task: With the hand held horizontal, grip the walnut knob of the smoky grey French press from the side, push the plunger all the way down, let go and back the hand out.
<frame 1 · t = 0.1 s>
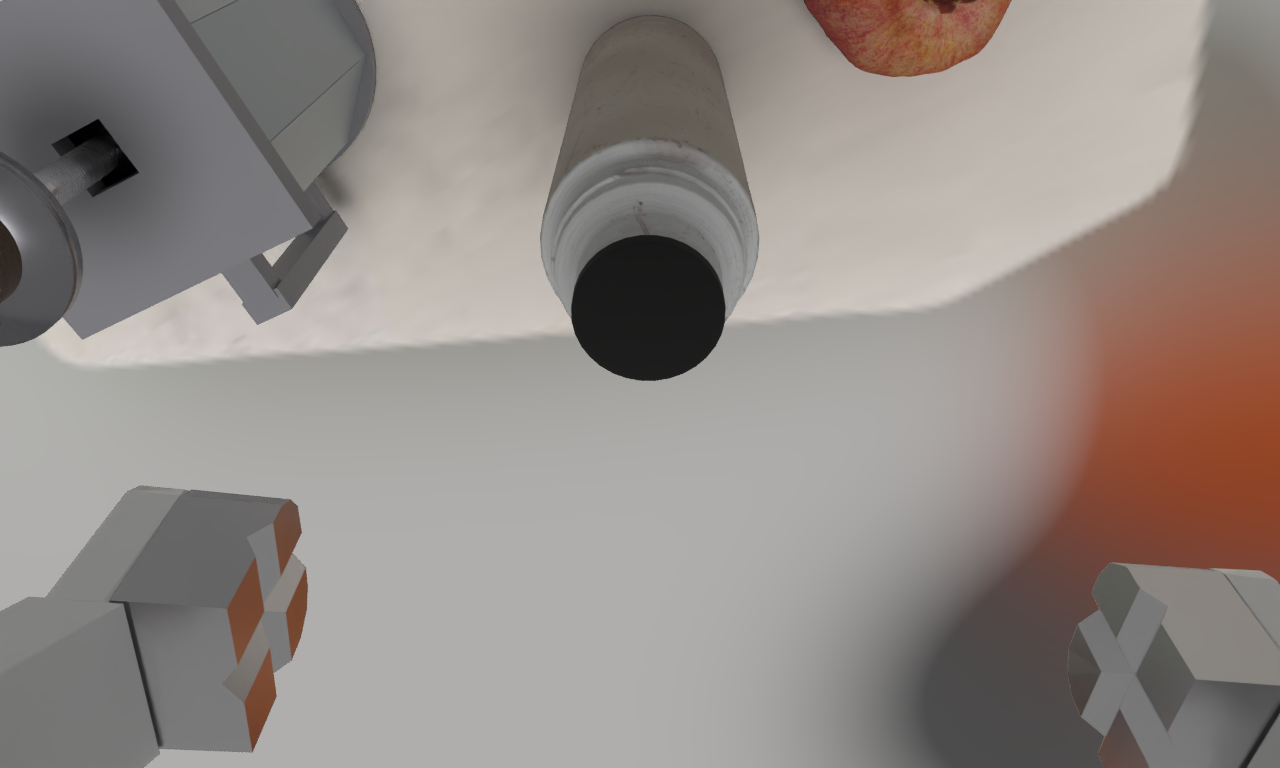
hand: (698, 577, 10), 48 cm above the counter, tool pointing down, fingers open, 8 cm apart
plunger: (0, 221, 33), point 24 cm above the counter, slide at 0.0 cm
thermos bottle: (650, 89, 55), on the counter
press carafe: (251, 56, 54), on the counter
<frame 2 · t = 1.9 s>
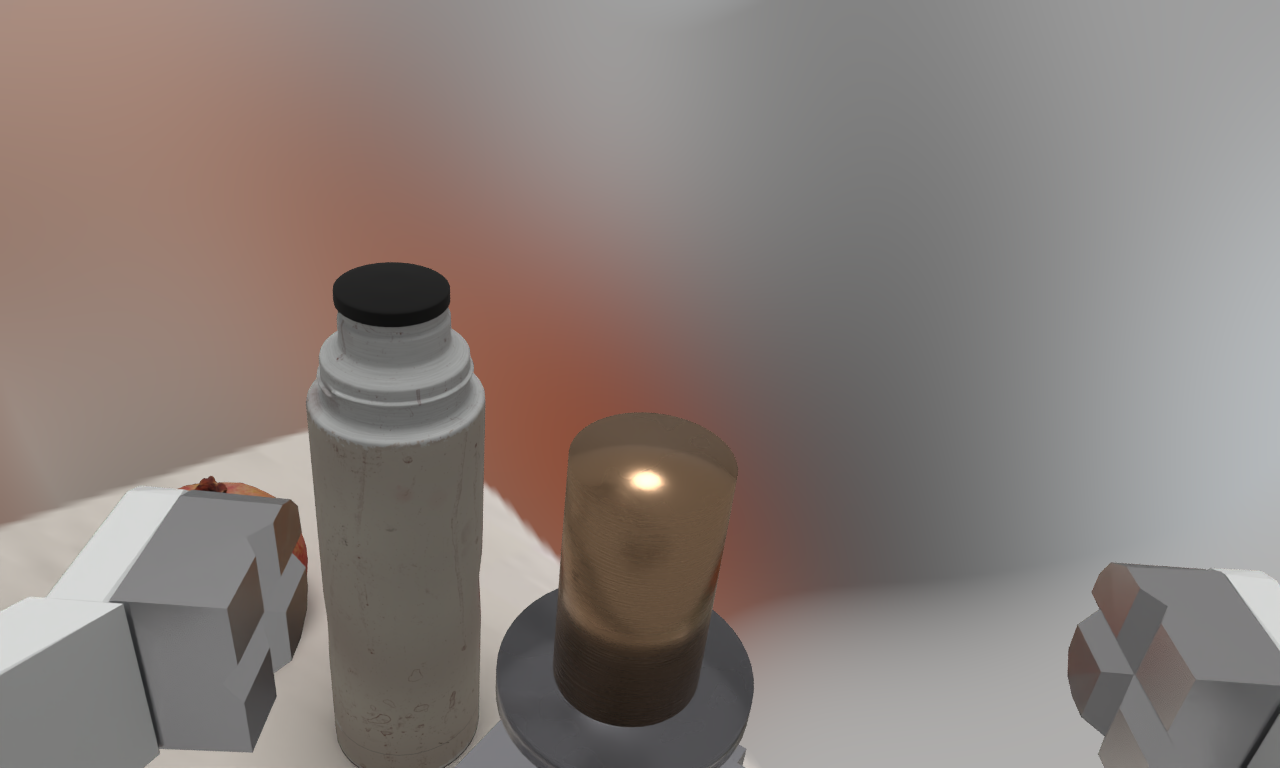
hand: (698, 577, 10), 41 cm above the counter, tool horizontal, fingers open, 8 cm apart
plunger: (618, 726, 28), point 24 cm above the counter, slide at 0.0 cm
fruit: (226, 620, 62), on the counter
thermos bottle: (408, 722, 57), on the counter
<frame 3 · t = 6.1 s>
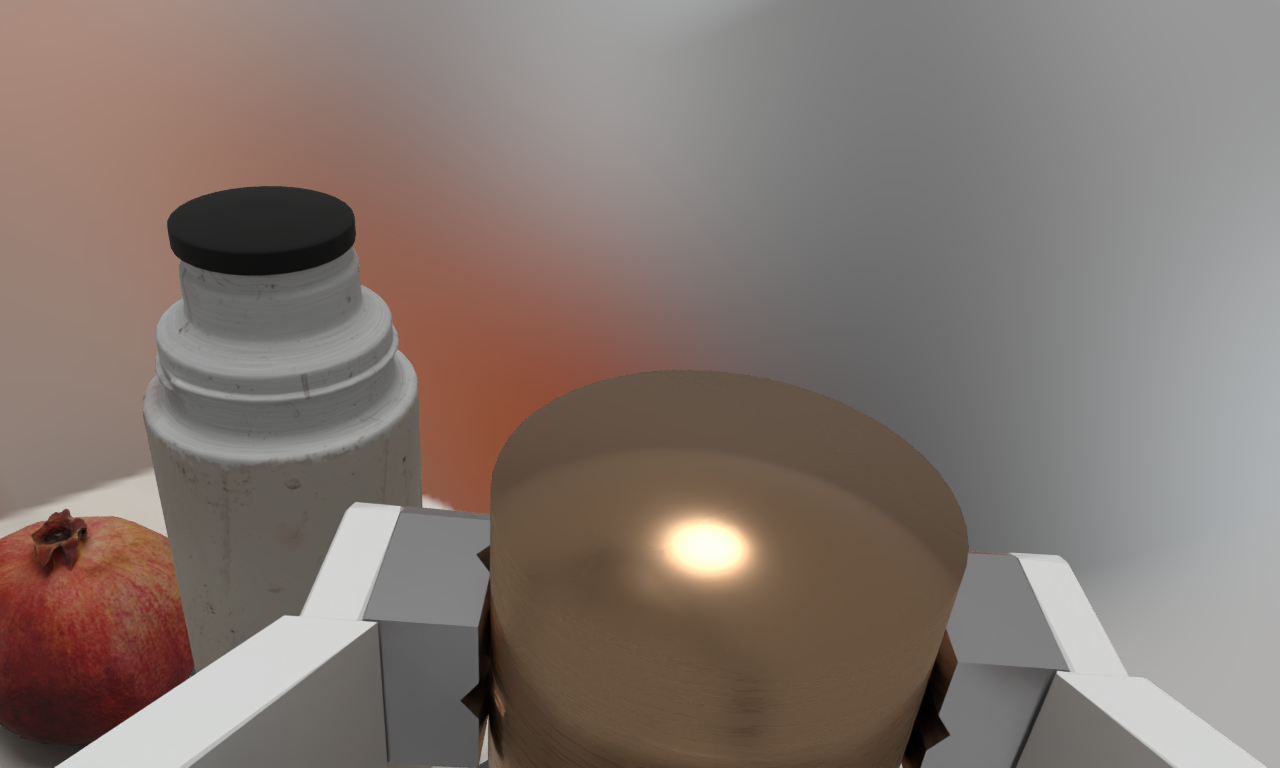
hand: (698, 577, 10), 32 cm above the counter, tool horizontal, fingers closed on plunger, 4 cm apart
fruit: (101, 698, 47), on the counter
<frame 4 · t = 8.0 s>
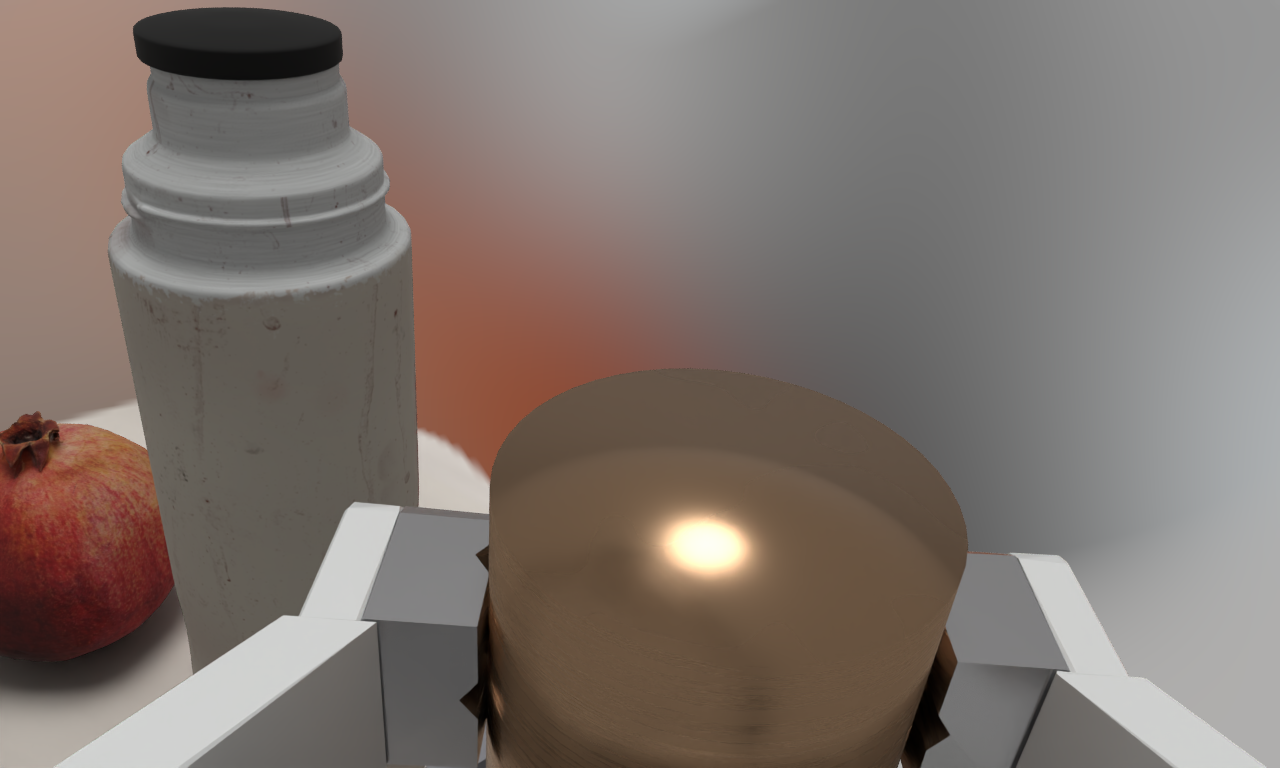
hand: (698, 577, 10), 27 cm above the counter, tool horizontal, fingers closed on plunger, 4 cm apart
fruit: (75, 620, 44), on the counter
thermos bottle: (324, 760, 39), on the counter
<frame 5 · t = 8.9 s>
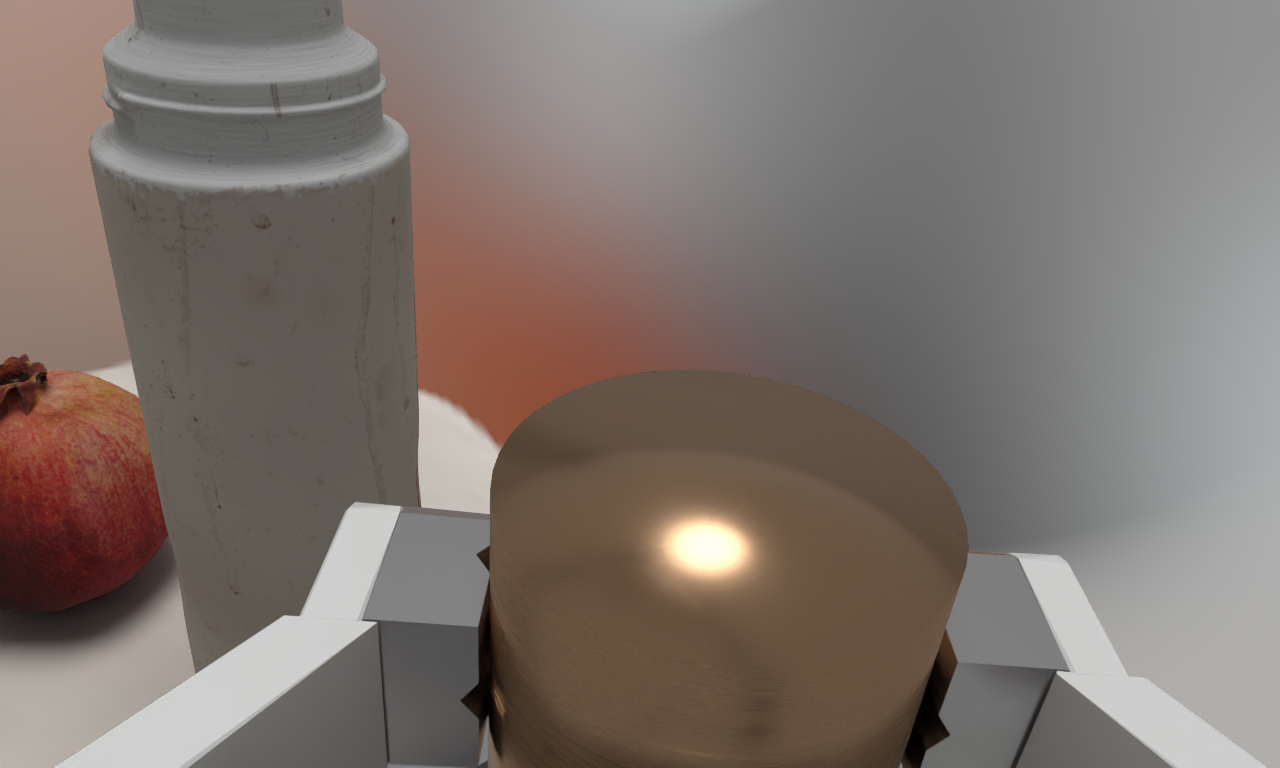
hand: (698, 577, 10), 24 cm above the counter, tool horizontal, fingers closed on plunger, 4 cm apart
fruit: (66, 575, 43), on the counter
thermos bottle: (322, 713, 38), on the counter
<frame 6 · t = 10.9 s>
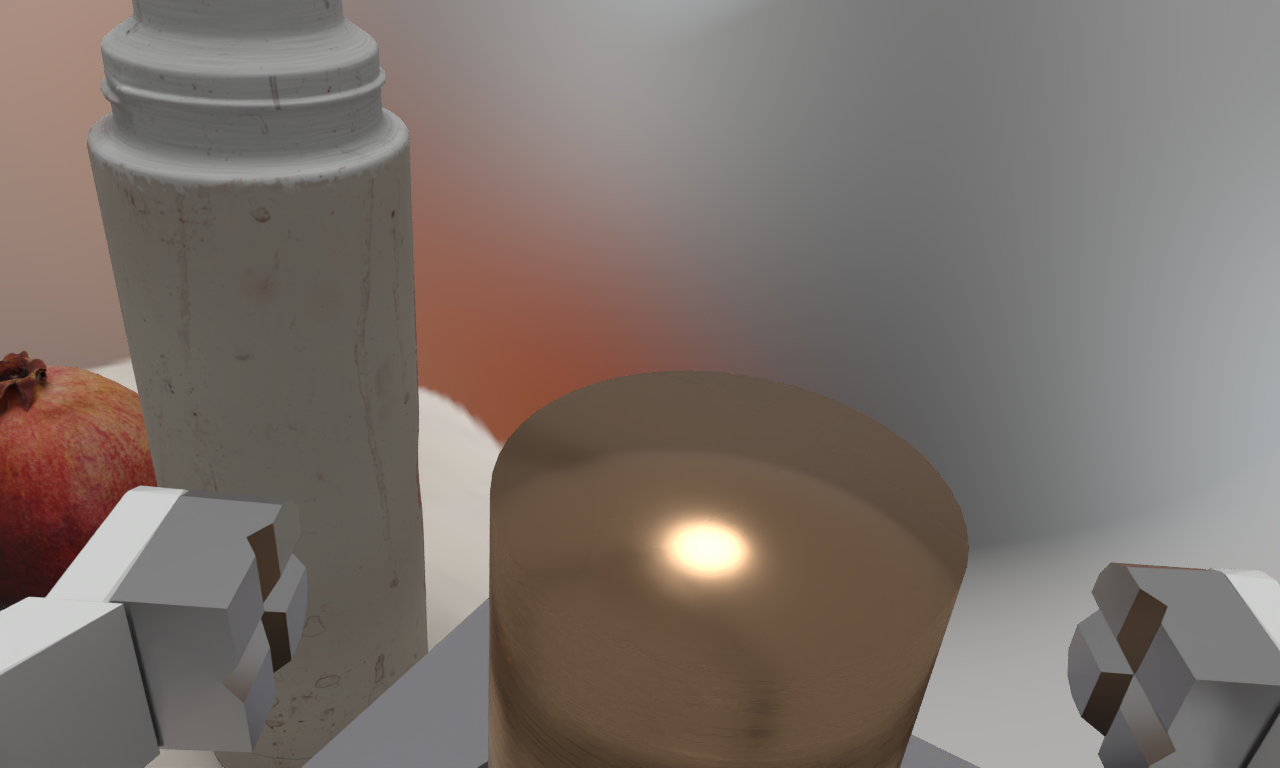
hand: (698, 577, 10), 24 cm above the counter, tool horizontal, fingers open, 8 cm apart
fruit: (66, 572, 43), on the counter
thermos bottle: (323, 710, 38), on the counter
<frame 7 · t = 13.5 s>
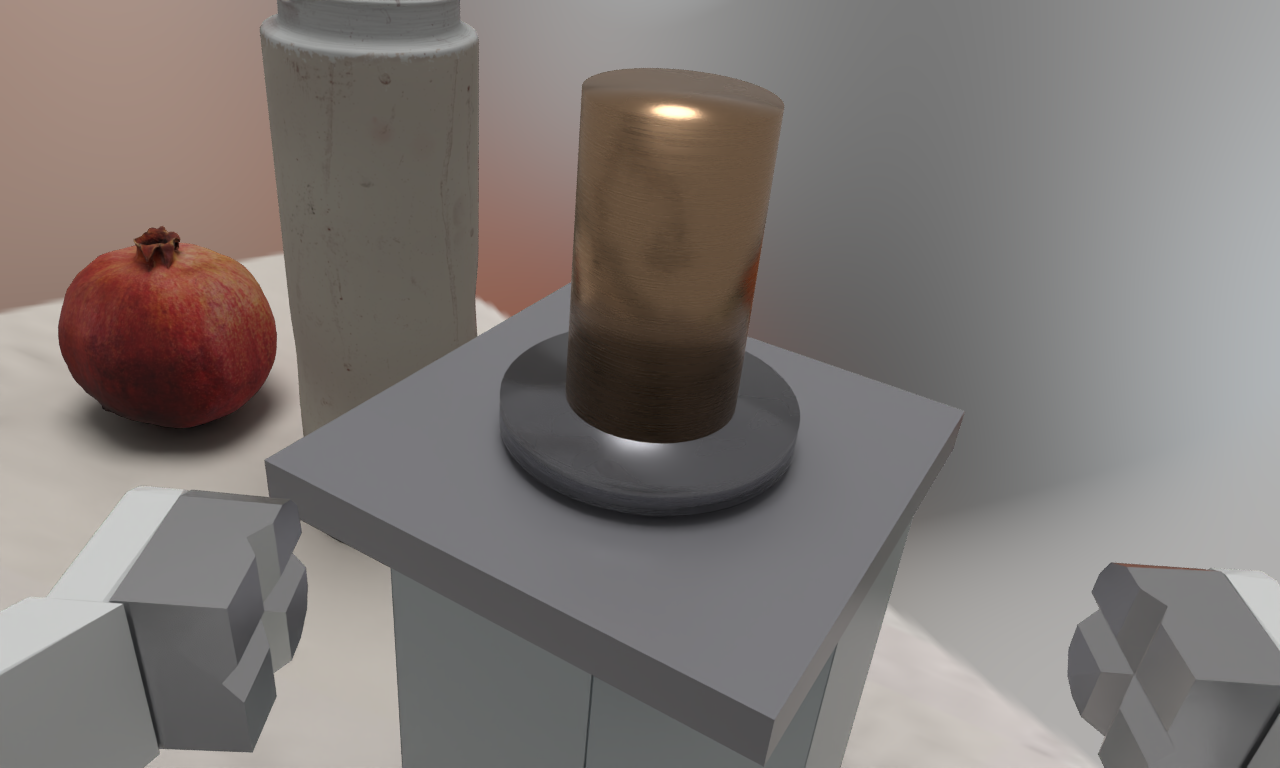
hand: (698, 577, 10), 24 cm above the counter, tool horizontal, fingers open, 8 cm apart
plunger: (641, 478, 24), point 16 cm above the counter, slide at 8.0 cm
fruit: (185, 411, 54), on the counter
thermos bottle: (396, 501, 49), on the counter
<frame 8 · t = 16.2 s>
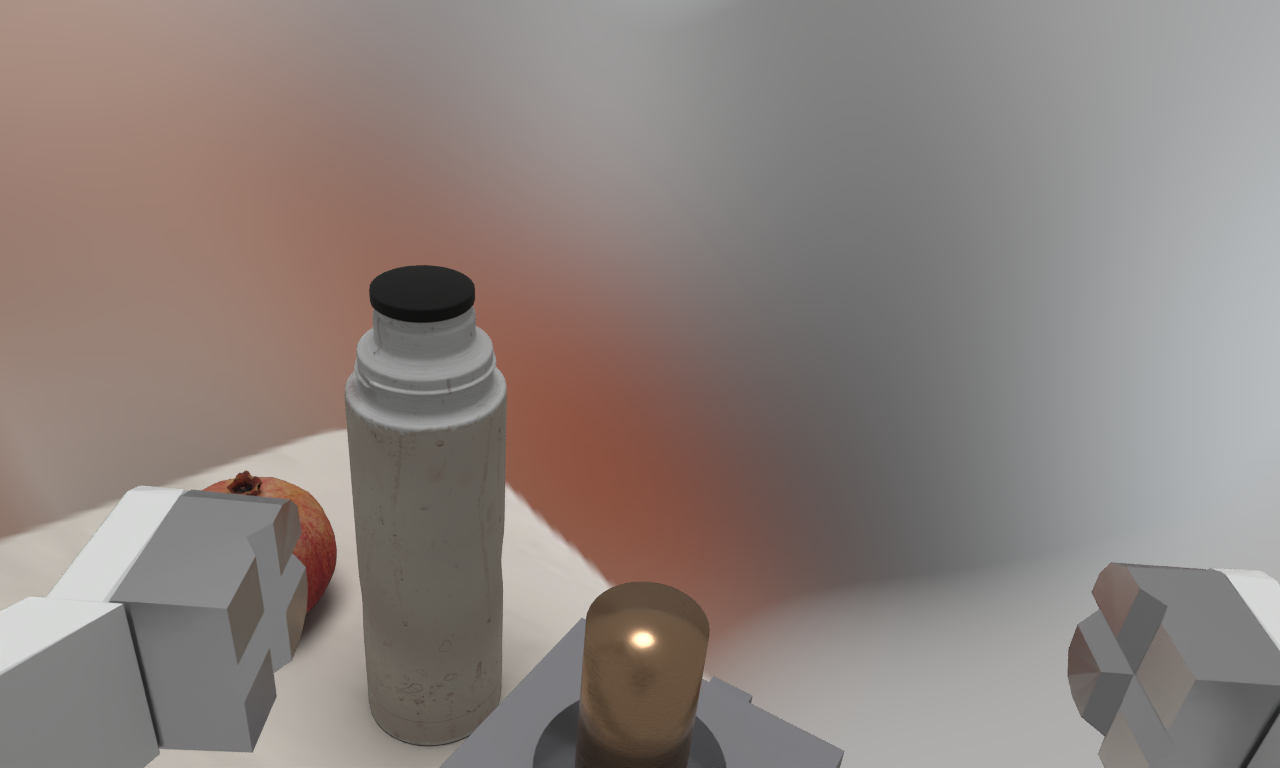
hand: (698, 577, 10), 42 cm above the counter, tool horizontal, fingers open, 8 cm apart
fruit: (261, 607, 66), on the counter
thermos bottle: (436, 695, 61), on the counter
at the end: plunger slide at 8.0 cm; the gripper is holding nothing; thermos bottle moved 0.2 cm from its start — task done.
